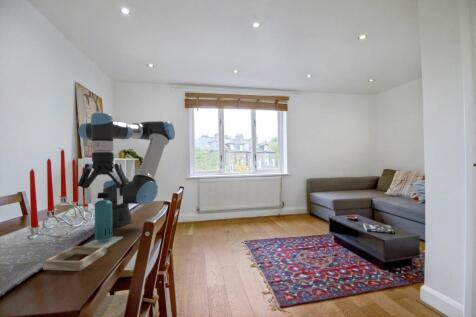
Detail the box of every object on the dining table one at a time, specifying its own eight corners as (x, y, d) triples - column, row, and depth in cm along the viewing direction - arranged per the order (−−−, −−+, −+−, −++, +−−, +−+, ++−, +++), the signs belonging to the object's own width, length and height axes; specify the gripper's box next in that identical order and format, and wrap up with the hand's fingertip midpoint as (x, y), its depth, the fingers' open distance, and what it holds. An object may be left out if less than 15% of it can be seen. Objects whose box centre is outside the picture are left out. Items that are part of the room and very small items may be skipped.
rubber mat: (100, 237, 95) (100, 236, 95) (123, 237, 94) (123, 236, 94) (81, 247, 84) (81, 246, 84) (106, 248, 83) (106, 247, 83)
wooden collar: (74, 252, 79) (74, 245, 79) (106, 253, 79) (106, 246, 79) (43, 269, 67) (43, 261, 67) (80, 270, 67) (80, 262, 67)
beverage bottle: (104, 245, 85) (103, 193, 85) (90, 243, 87) (89, 193, 87) (116, 239, 92) (116, 191, 92) (103, 237, 93) (103, 191, 93)
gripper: (65, 152, 86) (67, 205, 86) (127, 151, 85) (128, 205, 85) (80, 152, 93) (81, 201, 94) (137, 151, 92) (138, 201, 93)
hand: (104, 203), depth 89 cm, fingers open, 13 cm apart
